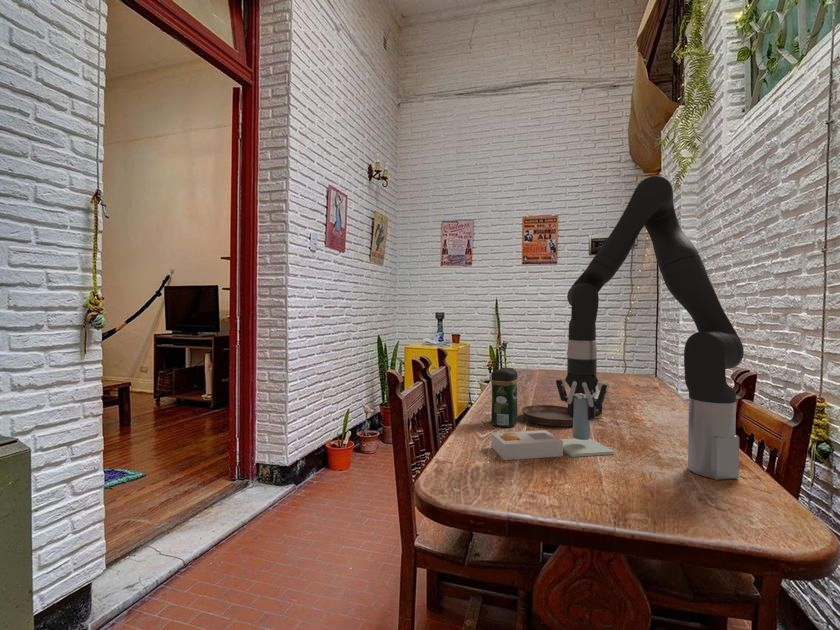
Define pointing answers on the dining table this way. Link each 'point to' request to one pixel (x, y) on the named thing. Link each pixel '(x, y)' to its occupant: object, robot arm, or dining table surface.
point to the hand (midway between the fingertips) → (581, 418)
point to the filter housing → (527, 445)
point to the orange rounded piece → (509, 436)
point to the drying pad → (584, 448)
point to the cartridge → (581, 418)
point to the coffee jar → (504, 397)
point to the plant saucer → (548, 415)
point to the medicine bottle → (596, 394)
